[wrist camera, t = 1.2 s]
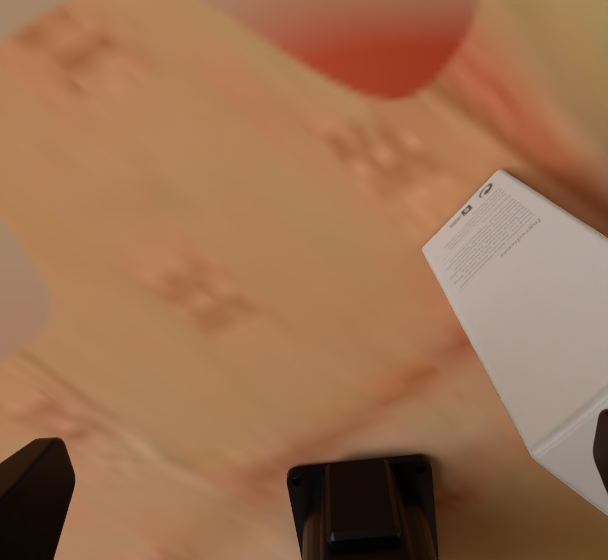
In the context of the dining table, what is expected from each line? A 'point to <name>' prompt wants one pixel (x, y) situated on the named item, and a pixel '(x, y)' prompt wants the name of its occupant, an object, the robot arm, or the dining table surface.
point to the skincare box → (534, 318)
